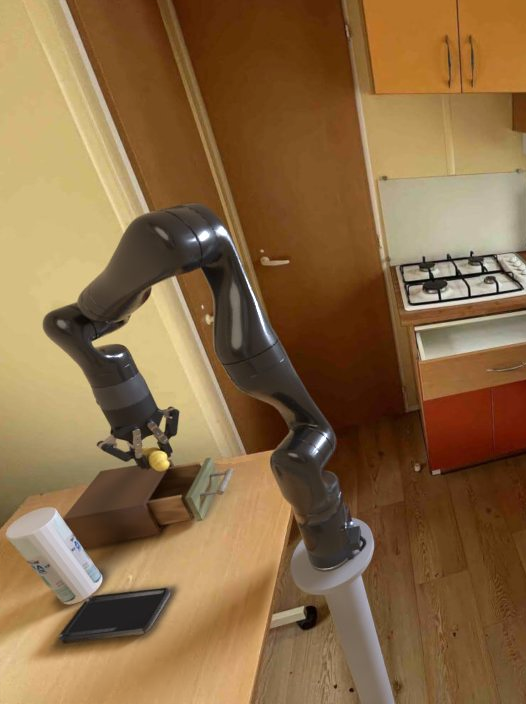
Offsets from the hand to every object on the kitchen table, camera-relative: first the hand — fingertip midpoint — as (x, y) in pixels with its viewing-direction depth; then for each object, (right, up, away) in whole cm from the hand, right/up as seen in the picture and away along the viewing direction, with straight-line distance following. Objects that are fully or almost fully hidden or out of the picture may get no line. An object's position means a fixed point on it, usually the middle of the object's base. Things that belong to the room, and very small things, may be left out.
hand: (157, 461), depth 89 cm
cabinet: (-14, -16, +11) cm, 24 cm away
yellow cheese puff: (0, 0, 0) cm, 0 cm away
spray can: (-11, -24, -4) cm, 27 cm away
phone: (0, -27, -9) cm, 28 cm away
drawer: (-2, -14, +13) cm, 19 cm away
